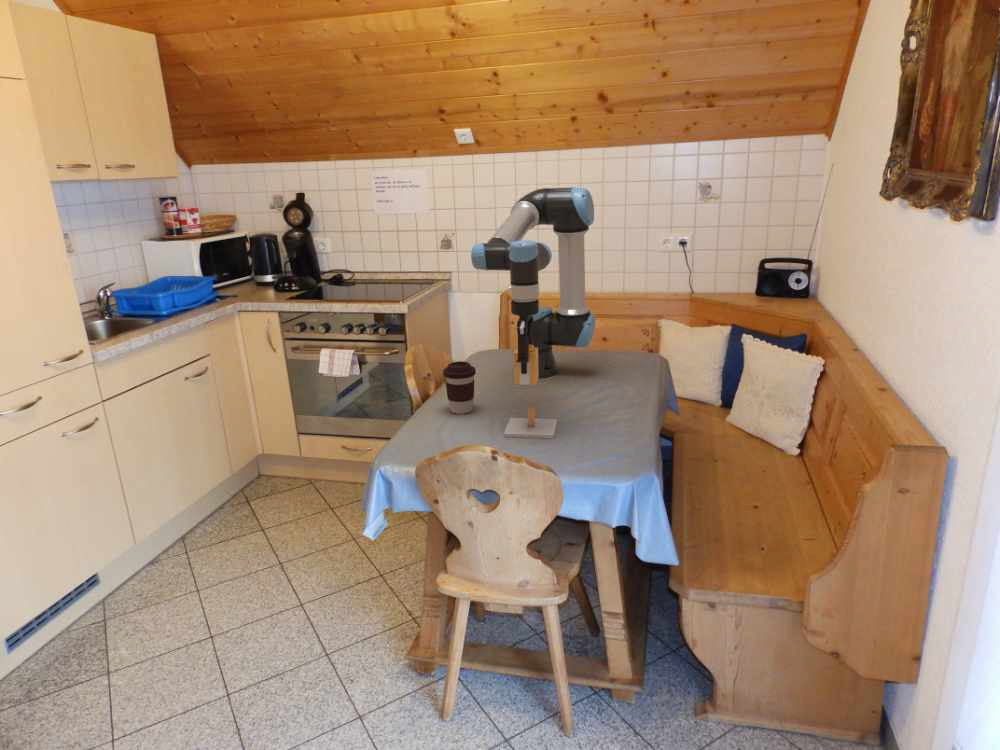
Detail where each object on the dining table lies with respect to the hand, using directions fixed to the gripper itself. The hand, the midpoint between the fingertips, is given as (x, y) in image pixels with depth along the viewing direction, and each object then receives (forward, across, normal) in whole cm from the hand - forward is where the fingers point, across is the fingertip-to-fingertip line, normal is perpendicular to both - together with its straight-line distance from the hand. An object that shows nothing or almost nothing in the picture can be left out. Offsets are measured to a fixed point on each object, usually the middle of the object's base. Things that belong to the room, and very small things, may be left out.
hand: (526, 380), depth 190 cm
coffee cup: (+15, -13, -23) cm, 30 cm away
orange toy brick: (0, 0, 0) cm, 0 cm away
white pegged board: (+15, 0, +1) cm, 15 cm away
